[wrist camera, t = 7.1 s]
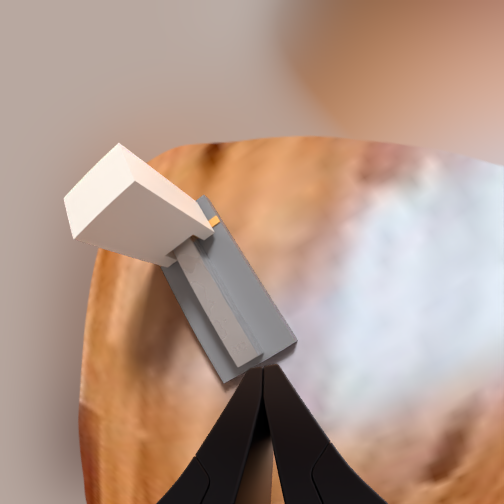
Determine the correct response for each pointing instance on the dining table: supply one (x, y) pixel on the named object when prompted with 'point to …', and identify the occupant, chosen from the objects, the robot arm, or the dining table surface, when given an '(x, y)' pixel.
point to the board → (242, 293)
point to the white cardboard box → (133, 210)
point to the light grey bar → (217, 302)
